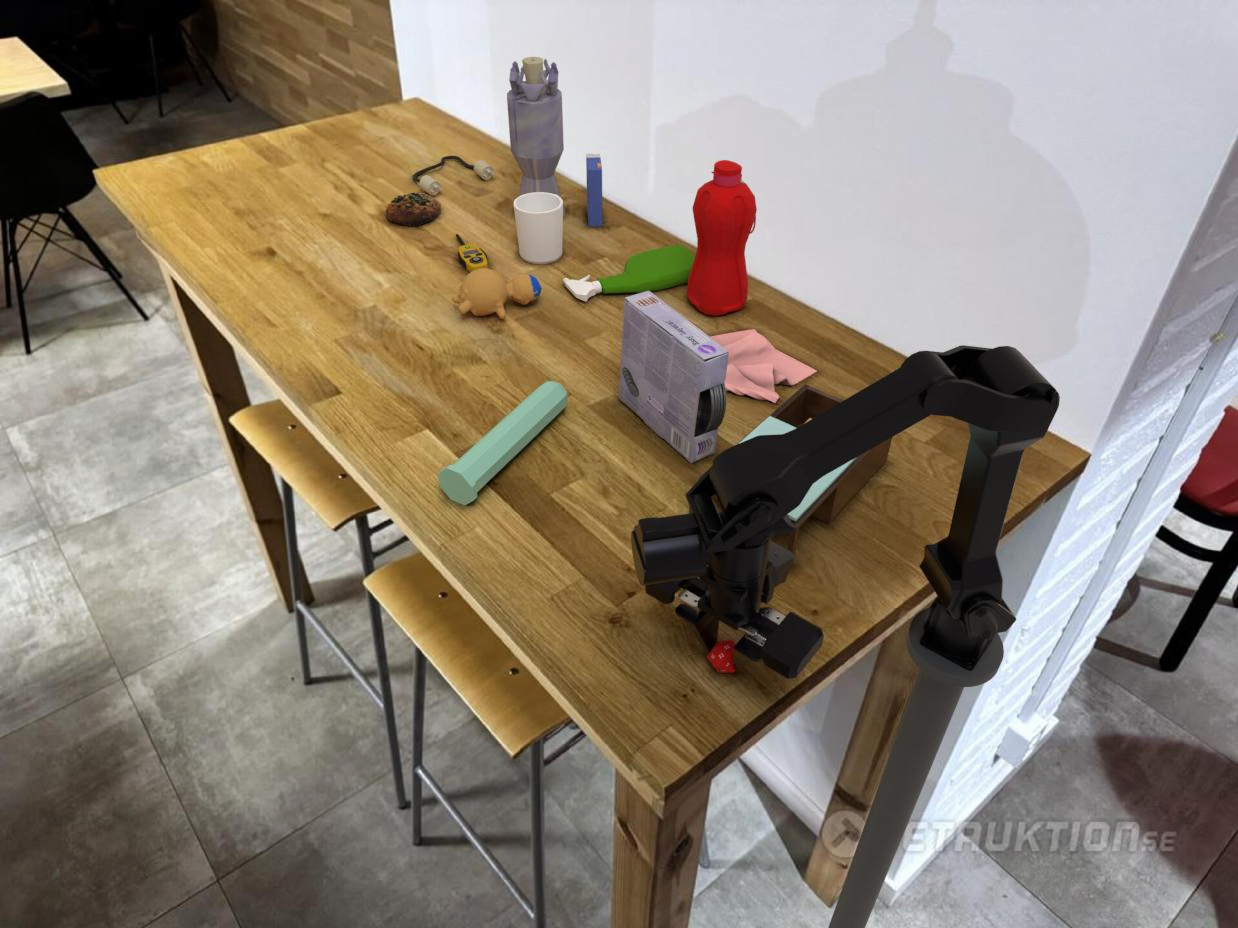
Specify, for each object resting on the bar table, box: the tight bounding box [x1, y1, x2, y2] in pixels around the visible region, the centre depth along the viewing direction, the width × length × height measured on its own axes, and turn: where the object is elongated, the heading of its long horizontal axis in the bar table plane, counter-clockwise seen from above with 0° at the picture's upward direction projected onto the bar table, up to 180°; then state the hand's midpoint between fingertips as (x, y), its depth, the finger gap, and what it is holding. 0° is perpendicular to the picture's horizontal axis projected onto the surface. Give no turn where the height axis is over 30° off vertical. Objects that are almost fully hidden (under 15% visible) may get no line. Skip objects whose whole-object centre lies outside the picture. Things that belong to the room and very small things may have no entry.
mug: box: [513, 192, 564, 265], centre depth 171 cm, size 11×9×10 cm
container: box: [437, 380, 568, 506], centre depth 128 cm, size 6×6×25 cm
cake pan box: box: [618, 291, 729, 464], centre depth 128 cm, size 19×5×18 cm, turn 34°
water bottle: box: [686, 159, 758, 317], centre depth 152 cm, size 9×11×25 cm
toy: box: [451, 268, 543, 320], centre depth 156 cm, size 10×8×15 cm
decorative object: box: [506, 56, 567, 217], centre depth 177 cm, size 10×10×30 cm
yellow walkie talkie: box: [455, 233, 489, 273], centre depth 172 cm, size 5×2×15 cm
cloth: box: [708, 328, 818, 404], centre depth 145 cm, size 20×22×2 cm
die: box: [706, 639, 737, 674], centre depth 101 cm, size 4×3×4 cm
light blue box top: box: [738, 415, 857, 522], centre depth 115 cm, size 13×15×3 cm
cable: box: [412, 155, 495, 196], centre depth 198 cm, size 16×16×4 cm
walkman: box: [585, 153, 603, 228], centre depth 181 cm, size 8×3×12 cm, turn 4°
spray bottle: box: [562, 244, 696, 303], centre depth 165 cm, size 3×11×24 cm
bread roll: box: [385, 191, 442, 228], centre depth 185 cm, size 11×11×5 cm
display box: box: [698, 383, 893, 567], centre depth 121 cm, size 14×26×7 cm, turn 141°
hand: (724, 659), depth 101 cm, fingers closed on die, 3 cm apart
